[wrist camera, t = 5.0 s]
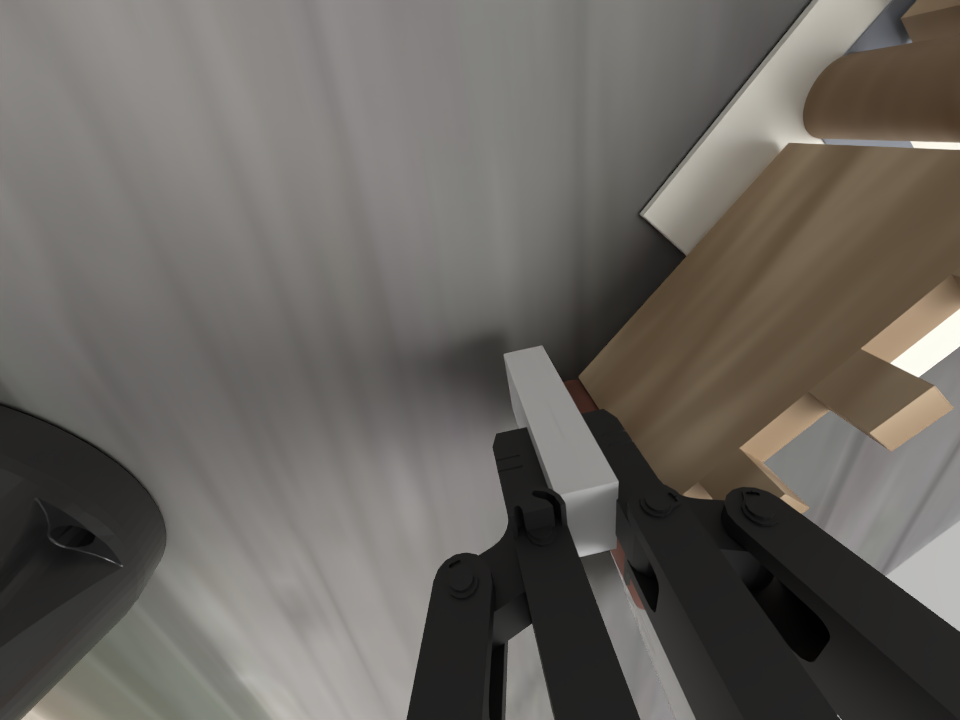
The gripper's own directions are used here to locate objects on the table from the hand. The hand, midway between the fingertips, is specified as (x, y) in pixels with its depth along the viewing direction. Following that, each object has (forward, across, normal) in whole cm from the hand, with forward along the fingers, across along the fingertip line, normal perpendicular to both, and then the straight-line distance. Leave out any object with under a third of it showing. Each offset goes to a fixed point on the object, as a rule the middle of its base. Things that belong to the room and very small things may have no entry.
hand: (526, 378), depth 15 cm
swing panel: (+1, +6, +1) cm, 6 cm away
